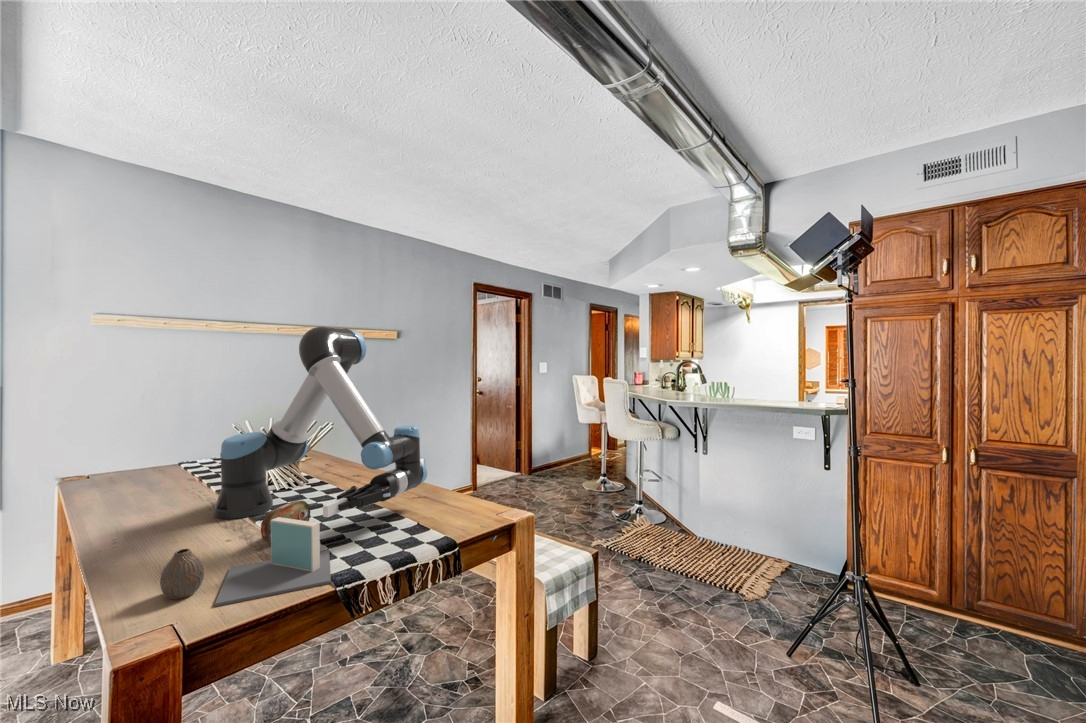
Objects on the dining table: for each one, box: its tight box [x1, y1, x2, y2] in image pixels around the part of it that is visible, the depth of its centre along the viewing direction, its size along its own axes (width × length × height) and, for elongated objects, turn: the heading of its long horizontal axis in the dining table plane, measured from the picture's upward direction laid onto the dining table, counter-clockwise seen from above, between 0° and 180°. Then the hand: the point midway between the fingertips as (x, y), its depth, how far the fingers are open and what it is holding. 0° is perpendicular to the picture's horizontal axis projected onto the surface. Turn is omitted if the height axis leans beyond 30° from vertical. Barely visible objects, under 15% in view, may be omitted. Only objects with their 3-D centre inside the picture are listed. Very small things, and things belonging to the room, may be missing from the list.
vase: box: [159, 548, 205, 600], centre depth 91 cm, size 7×7×9 cm
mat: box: [214, 549, 332, 608], centre depth 98 cm, size 17×20×1 cm
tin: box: [260, 500, 311, 544], centre depth 120 cm, size 15×3×8 cm, turn 168°
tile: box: [270, 517, 321, 572], centre depth 102 cm, size 12×2×10 cm, turn 71°
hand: (325, 511), depth 110 cm, fingers closed
